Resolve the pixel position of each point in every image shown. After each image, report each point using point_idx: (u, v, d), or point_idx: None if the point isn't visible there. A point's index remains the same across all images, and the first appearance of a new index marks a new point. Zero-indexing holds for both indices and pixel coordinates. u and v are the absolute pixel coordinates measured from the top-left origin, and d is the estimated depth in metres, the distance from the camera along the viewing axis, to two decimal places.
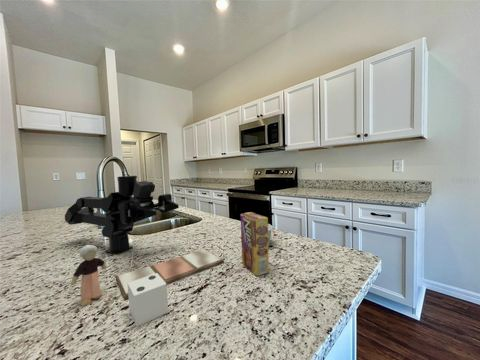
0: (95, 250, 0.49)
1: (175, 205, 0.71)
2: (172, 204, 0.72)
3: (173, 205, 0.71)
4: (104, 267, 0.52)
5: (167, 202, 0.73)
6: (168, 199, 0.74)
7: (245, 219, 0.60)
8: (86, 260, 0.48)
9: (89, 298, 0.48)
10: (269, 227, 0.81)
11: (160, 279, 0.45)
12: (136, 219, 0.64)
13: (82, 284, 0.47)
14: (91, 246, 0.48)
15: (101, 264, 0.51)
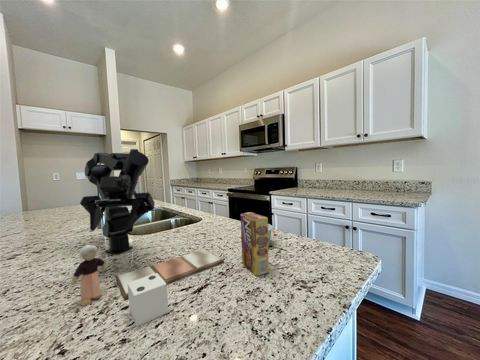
0: (95, 250, 0.49)
1: None
2: None
3: None
4: (104, 267, 0.52)
5: None
6: (135, 206, 0.59)
7: (245, 219, 0.60)
8: (86, 260, 0.48)
9: (89, 298, 0.48)
10: (269, 227, 0.81)
11: (160, 279, 0.45)
12: None
13: (82, 284, 0.47)
14: (91, 246, 0.48)
15: (101, 264, 0.51)
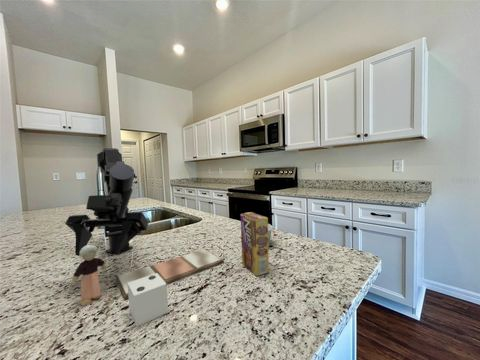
0: (95, 250, 0.49)
1: None
2: None
3: None
4: (104, 267, 0.52)
5: None
6: (125, 228, 0.54)
7: (245, 219, 0.60)
8: (86, 260, 0.48)
9: (89, 298, 0.48)
10: (269, 227, 0.81)
11: (160, 279, 0.45)
12: None
13: (82, 284, 0.47)
14: (91, 246, 0.48)
15: (101, 264, 0.51)
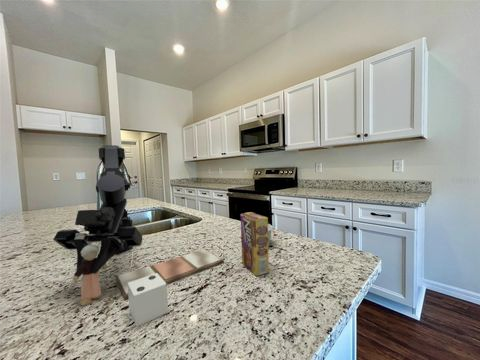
0: (96, 250, 0.49)
1: None
2: None
3: None
4: (105, 267, 0.52)
5: None
6: (104, 245, 0.50)
7: (245, 219, 0.60)
8: (87, 260, 0.48)
9: (89, 298, 0.48)
10: (269, 227, 0.81)
11: (160, 279, 0.45)
12: None
13: (83, 284, 0.47)
14: (92, 246, 0.48)
15: None
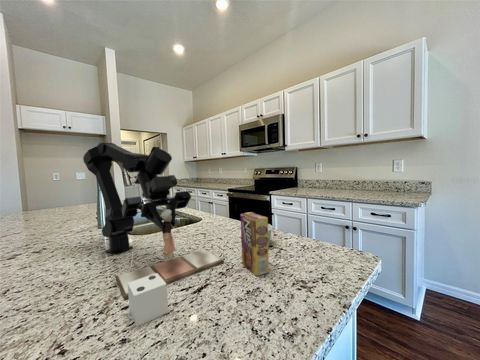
0: None
1: (172, 222, 0.60)
2: None
3: (171, 220, 0.60)
4: None
5: (169, 209, 0.62)
6: (173, 206, 0.62)
7: (245, 219, 0.60)
8: (168, 221, 0.59)
9: (171, 252, 0.59)
10: (269, 227, 0.81)
11: (160, 279, 0.45)
12: (147, 216, 0.60)
13: (168, 240, 0.58)
14: (170, 210, 0.60)
15: None
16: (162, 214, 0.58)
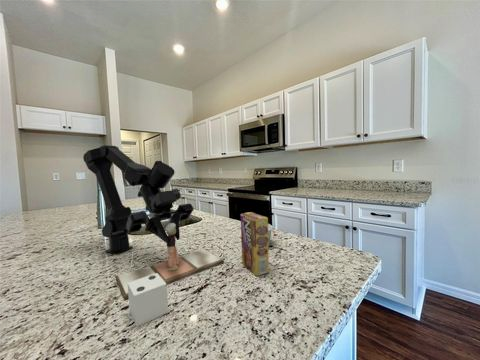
0: None
1: (177, 235, 0.61)
2: None
3: (176, 233, 0.61)
4: None
5: (173, 222, 0.63)
6: (177, 219, 0.63)
7: (245, 219, 0.60)
8: (172, 235, 0.60)
9: (175, 264, 0.60)
10: (269, 227, 0.81)
11: (160, 279, 0.45)
12: (151, 229, 0.61)
13: (172, 254, 0.59)
14: (174, 223, 0.61)
15: None
16: (167, 228, 0.59)
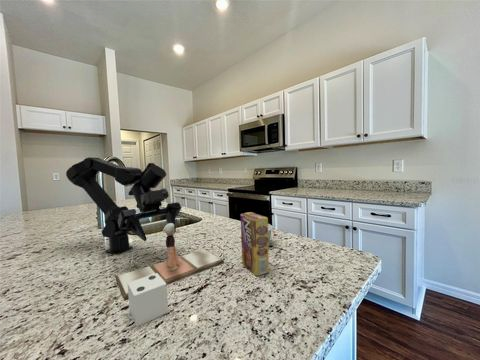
0: None
1: None
2: None
3: None
4: None
5: (170, 218, 0.70)
6: (173, 214, 0.71)
7: (245, 219, 0.60)
8: (171, 235, 0.60)
9: (175, 264, 0.60)
10: (269, 227, 0.81)
11: (160, 279, 0.45)
12: (130, 228, 0.64)
13: (172, 254, 0.59)
14: (172, 223, 0.61)
15: None
16: (166, 228, 0.59)
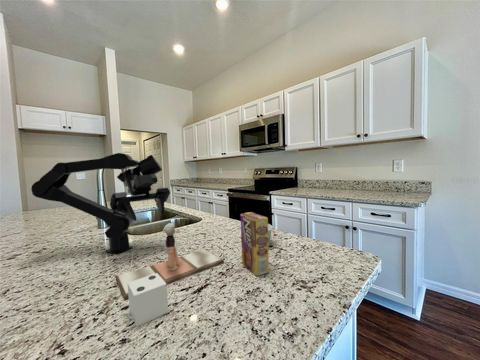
0: None
1: (162, 211, 0.74)
2: (161, 208, 0.74)
3: (161, 210, 0.74)
4: None
5: (159, 201, 0.76)
6: (162, 198, 0.76)
7: (245, 219, 0.60)
8: (171, 235, 0.60)
9: (175, 264, 0.60)
10: (269, 227, 0.81)
11: (160, 279, 0.45)
12: (122, 210, 0.70)
13: (172, 254, 0.59)
14: (172, 223, 0.61)
15: None
16: (166, 228, 0.59)
